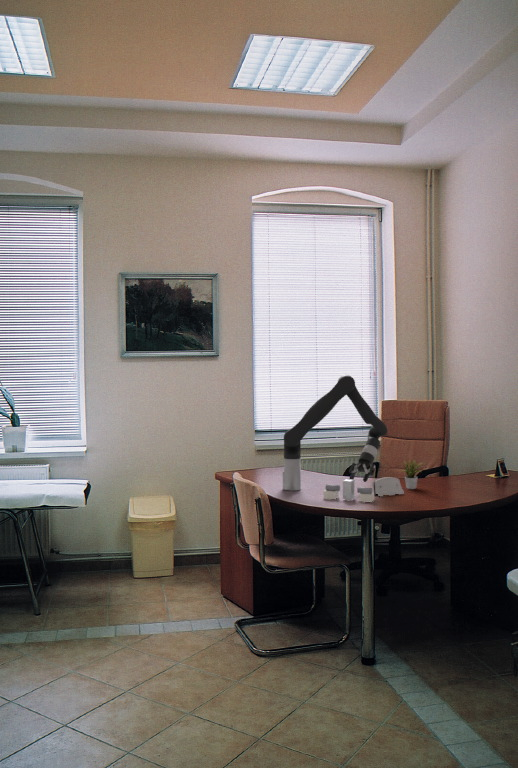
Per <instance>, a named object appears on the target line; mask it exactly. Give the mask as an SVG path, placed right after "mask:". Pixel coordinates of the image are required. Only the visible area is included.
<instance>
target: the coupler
mask: <svg viewBox="0 0 518 768" xmlns="http://www.w3.org/2000/svg"><path fill="white" fill-rule="evenodd" d="M343 499H345V500H344V501H346V500H352V499H354V500H355V479H353V480H350V479H348V478H347V479H344V480H342V500H343ZM352 501H353V500H352Z"/></svg>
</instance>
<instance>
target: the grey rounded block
mask: <svg viewBox="0 0 518 768" xmlns="http://www.w3.org/2000/svg"><path fill="white" fill-rule="evenodd" d="M404 491H405V490H404V489H403V487H402V484H401V482H400V479H399V478H397V477H393V476H392V477H391V476H387V477H381V478H378V479H375V480H374V481H373V482H372V493H374V496H376V494H378V495H377V496H378V497H379V496H380V497H384V496H383V495H389V496H396V495H395V494H399V495H405V492H404Z"/></svg>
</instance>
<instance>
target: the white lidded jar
mask: <svg viewBox="0 0 518 768" xmlns="http://www.w3.org/2000/svg"><path fill="white" fill-rule="evenodd" d="M324 488H325V489H324V490H323V500H331V499H335V500H337V499H338V498H339V492H340V491H341V485H339V484H325V487H324ZM336 498H337V499H336Z"/></svg>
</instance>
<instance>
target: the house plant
mask: <svg viewBox="0 0 518 768" xmlns="http://www.w3.org/2000/svg"><path fill="white" fill-rule="evenodd" d="M408 459H409V460H408V463H409V464H408V463H407V462H406V461H405V460H403V462H404V464H403V462H400V464H401V465H402V466H403V467H404V468H405V469H406V470H404V469H400V470H399V471H400V472H405V473H406V476H404V480H405V481H404V483H405V487H406V489H407V490H415V489H417V485H418V484H417V483H418V478H419V477H418V476H416V475H417V474H418V473H421V474H422V473H423V472H422V471H421V468H420V467H421V466H422V465H423V464H425V462H424V461H423V462H419V463H418V464H417V465H416V462H417V461H416V459H414V460H413V462H411V459H410V458H408ZM418 468H419V469H418Z"/></svg>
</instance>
